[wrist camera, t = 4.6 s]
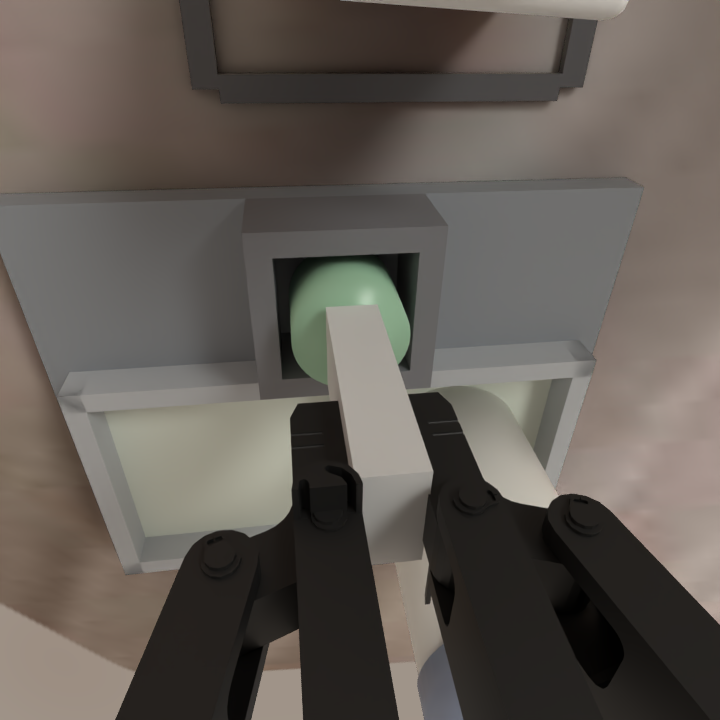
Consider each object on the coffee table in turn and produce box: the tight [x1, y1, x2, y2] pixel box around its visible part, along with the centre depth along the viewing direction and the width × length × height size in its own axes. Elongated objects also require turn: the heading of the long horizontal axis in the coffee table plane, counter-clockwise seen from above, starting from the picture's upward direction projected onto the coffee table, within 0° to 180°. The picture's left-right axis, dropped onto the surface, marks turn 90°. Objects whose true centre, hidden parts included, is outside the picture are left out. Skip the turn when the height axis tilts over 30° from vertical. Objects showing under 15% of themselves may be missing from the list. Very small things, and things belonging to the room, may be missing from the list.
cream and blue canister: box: [395, 386, 559, 720], centre depth 20 cm, size 7×7×12 cm
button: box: [289, 254, 410, 385], centre depth 18 cm, size 4×4×3 cm
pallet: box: [0, 178, 644, 575], centre depth 22 cm, size 18×22×4 cm
